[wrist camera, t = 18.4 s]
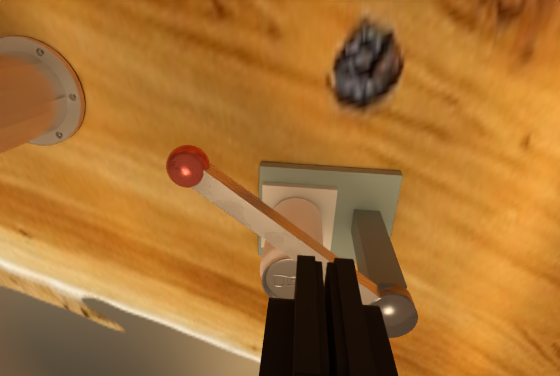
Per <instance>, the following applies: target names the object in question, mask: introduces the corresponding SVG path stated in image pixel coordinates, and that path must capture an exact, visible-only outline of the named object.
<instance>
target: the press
mask: <svg viewBox="0 0 560 376" xmlns="http://www.w3.org/2000/svg"><path fill="white" fill-rule="evenodd" d="M402 177H403V175H402V173H401V172H400V171H394V170H379V169H364V168H348V167H333V166H318V165H302V164H287V163H271V162H261V164H260V171H259V199H260V200H261V201H262V202H264V203H265V204H267V205H268V206H269V207H271V208H272V209H274V208H275V207H276V205H278V204H279V203H280V202H282V201H284V200H287V199H291V198H300V199H304V200H307V201H309V202H311V203H312V204H314V205H315V206H316V207H317V208H318V210H319V212H320V214H321V218H322V226H323V245H324V247H325V248H327V249H328V250H329V251H331V252H332V253H334V254H335V255H336V256H338V257H339V258H347V259H353V260H354V263H357V267H358V272H360V273H361V274H362V275H364V276H365V277H366V278H368V279H369V280H370V281H372V282H373V283H375V284H376V285H377V284H381V283H395V284H398V285H401V286H403V287H404V288H407V286H406V283H405V280H404V277H403V274H402V271H401V269H400V266H399V263H398V260H397V257H396V255H395V252H394V249H393V246H392V243H391V241H390V237H391V232H392V227H393V222H394V217H395V212H396V207H397V202H398V197H399V192H400V187H401V182H402ZM264 244H265V239H263V238H262V237H260V236H259V235H258V255H262V253H263V248H264Z"/></svg>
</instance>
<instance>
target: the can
mask: <svg viewBox="0 0 560 376" xmlns="http://www.w3.org/2000/svg"><path fill="white" fill-rule="evenodd" d="M273 210H275V211H276V212H278V213H279V214H280V215H282V216H283V217H284V218H286V219H287V220H288V221H290V222H291V223H293V224H294V225H295V226H297V227H298V228H299V229H301V230H302V231H304V232H305V233H306V234H308V235H309V236H310V237H312V238H313V239H314V240H316V241H317V242H319V243H320V244H321V245H323V226H322V218H321V214H320V212H319V210H318V208H317V207H316V206H315V205H314V204H312V203H311V202H309V201H307V200H304V199H300V198H291V199H287V200H284V201H282V202H280V203H279V204H278V205H276V207H275V208H274V209H273ZM323 246H324V245H323ZM296 265H297V262H296V261H294V260H293V259H292V258H290V257H289V256H287V255H286V254H284V253H283V252H282V251H280V250H279V249H277V248H276V247H275V246H273V245H272V244H270V243H269V242H267V241H266V240H265V244H264V248H263V253H262V258H261V264H260V276H261V279H262V286H263V289H264V291H265V292H266V294H267V295H268V296H269V297H271V298H284V299H294V291H295V278H296Z"/></svg>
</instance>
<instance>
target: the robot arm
mask: <svg viewBox="0 0 560 376" xmlns="http://www.w3.org/2000/svg"><path fill="white" fill-rule="evenodd" d="M84 112H85V101H84V94H83V91H82V88H81V84H80V82H79V80H78V78H77V76H76V74H75V72H74V71H73V69H72V68H71V67H70V65H69V64H68V63H67V62H66V61H65V59H64V58H63V57H62V56H61V55H60V54H59V53H57V52H56V51H55V50H53V49H52V48H51V47H49V46H48V45H46V44H44V43H42V42H40V41H38V40H35V39H32V38H29V37H23V36H6V37H1V38H0V154H1V153H3V152H6V151H8V150H10V149H13V148H15V147H17V146H19V145H22V144H24V143H26V142H27V143H30V144H35V145H53V144H57V143H60V142H62V141H64V140H66V139H68V138H69V137H71V136H72V135H73V134H74V133H75V132H76V131H77V130H78V129H79V127H80V125H81V123H82V121H83V117H84ZM259 376H398V373H397V369H396V365H395V361H394V357H393V354H392V350H391V346H390V342H389V338H388V334H387V331H386V327H385V323H384V319H383V315H382V312H381V309H380V307H379V306H375V305H363V304H362V299H361V294H360V289H359V284H358V279H357V275H356V270H355V265H354V260H353V259H347V258H334V262H327V266H326V275H325V283H324V281H323V267H322V261H315V256H306V255H297V265H296V278H295V291H294V299H284V298H271V297H269V302H268V309H267V317H266V325H265V332H264V340H263V348H262V356H261V363H260V371H259Z"/></svg>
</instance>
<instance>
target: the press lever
mask: <svg viewBox="0 0 560 376" xmlns="http://www.w3.org/2000/svg"><path fill="white" fill-rule="evenodd" d="M166 169H167V173H168V175H169V177H170V179H171V180H172V181H173V182H174V183H175V184H177V185H179V186H182V187H187V188H190V187H191V188H192V189H194V190H195V191H197V192H198V193H199V194H201V195H202V196H204V197H205V198H206V199H208V200H209V201H211V202H212V203H214V204H215V205H216V206H218V207H219V208H221V209H222V210H223V211H225V212H226V213H228V214H229V215H231V216H232V217H233V218H235V219H236V220H238V221H239V222H241V223H242V224H243V225H245V226H246V227H248V228H249V229H250V230H252V231H253V232H255V233H256V234H258V235H259V236H260V237H262V238H263V239H265V240H266V241H267V242H269V243H270V244H272V245H273V246H275V247H276V248H277V249H279V250H280V251H282V252H283V253H284V254H286V255H287V256H289V257H290V258H292V259H293V260H294V261H296V262H297V255H306V256H315V261H322V267H323V281H324V282H325V275H326V266H327V262H334V258H339V257H338V256H336V255H335V254H334V253H332V252H331V251H329V250H328V249H327V248H325V247H324V246H323V245H321V244H320V243H319V242H317V241H316V240H314V239H313V238H312V237H310V236H309V235H308V234H306V233H305V232H304V231H302V230H301V229H299V228H298V227H297V226H295V225H294V224H293V223H291V222H290V221H288V220H287V219H286V218H284V217H283V216H282V215H280V214H279V213H278V212H276V211H275V210H273V209H272V208H271V207H269V206H268V205H267V204H265V203H264V202H262V201H261V200H260V199H258V198H257V197H256V196H254V195H253V194H252V193H250V192H249V191H247V190H246V189H245V188H243V187H242V186H241V185H239V184H238V183H237V182H235V181H234V180H232V179H231V178H230V177H228V176H227V175H226V174H224V173H223V172H221V171H220V170H219V169H217V168H216V167H215V166H213V165H212V164H211V163H210V162H209V159H208V157H207V155H206V154H205V153H204V151H202V150H201V149H200V148H198V147H196V146H192V145H183V146H180V147H178V148H176V149H175V150H173V151H172V152H171V154H170V155H169V157H168V159H167V163H166ZM356 275H357V279H358V284H359V289H360V294H361V299H362V304H363V305H375V306H379V307H380V309H381V312H382V315H383V319H384V323H385V327H386V331H387V334H388V338H394V337H399V336H402V335H405V334H407V333H408V332H410V331H411V330H412V329H413V328H414V327H415V325H416V323H417V320H418V315H417V311H416V308H415V306H414V303H413V300H412V297H411V295H410V293H409V291H408V290H407V289H406V288H404V287H403V286H401V285H398V284H395V283H381V284H377V285H376V284H375V283H373V282H372V281H370V280H369V279H368V278H366V277H365V276H364V275H362V274H361V273H360V272H358V271H357V270H356Z"/></svg>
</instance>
